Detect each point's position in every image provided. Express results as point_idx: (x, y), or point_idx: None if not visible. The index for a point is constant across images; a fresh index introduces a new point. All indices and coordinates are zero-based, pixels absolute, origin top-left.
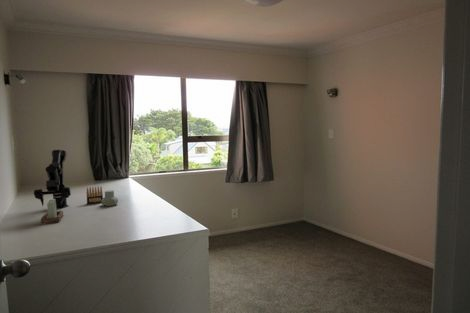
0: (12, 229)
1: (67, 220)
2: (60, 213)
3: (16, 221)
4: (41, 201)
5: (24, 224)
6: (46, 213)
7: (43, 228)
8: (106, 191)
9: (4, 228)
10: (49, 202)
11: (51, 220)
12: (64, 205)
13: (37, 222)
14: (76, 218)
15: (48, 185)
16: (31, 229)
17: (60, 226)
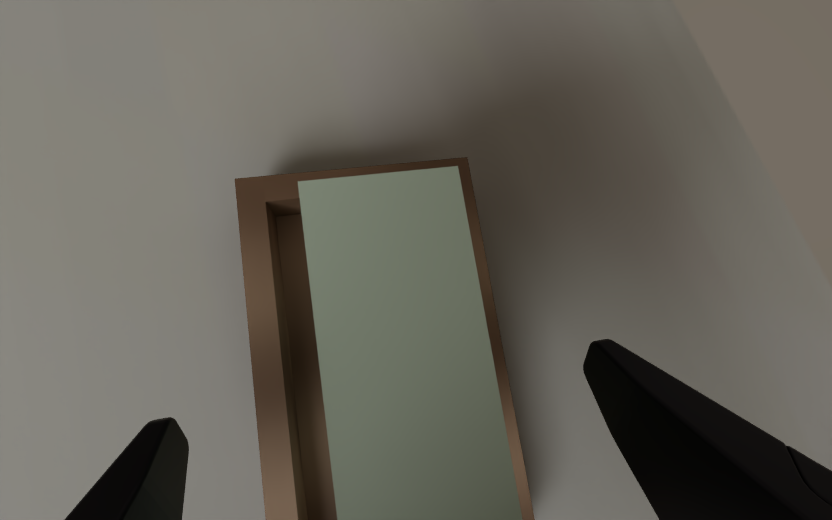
0: (659, 83)
1: (165, 274)
2: (272, 432)
3: (790, 409)
4: (700, 397)
5: (635, 239)
6: None
7: (366, 10)
8: None
9: (752, 145)
10: (412, 219)
11: None
12: None
13: (528, 286)
14: (46, 355)
15: None
16: (476, 18)
17: (196, 20)
